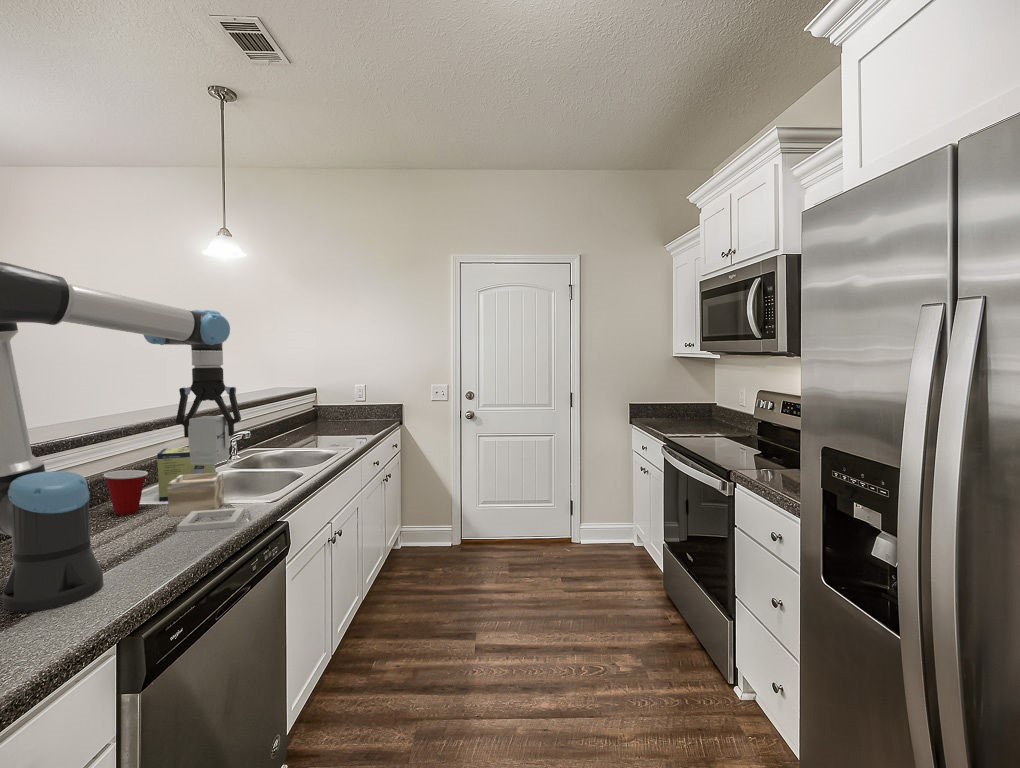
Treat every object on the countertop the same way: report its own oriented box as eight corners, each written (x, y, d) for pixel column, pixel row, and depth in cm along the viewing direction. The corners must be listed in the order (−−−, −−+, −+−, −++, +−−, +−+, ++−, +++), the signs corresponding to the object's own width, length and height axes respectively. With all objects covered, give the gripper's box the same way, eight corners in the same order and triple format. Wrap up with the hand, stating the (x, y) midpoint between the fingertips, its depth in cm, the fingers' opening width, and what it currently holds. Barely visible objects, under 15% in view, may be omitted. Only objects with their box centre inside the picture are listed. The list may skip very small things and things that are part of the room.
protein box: (164, 494, 181) (162, 448, 180) (217, 489, 187) (215, 445, 186) (158, 502, 172) (156, 453, 171) (213, 497, 178) (212, 450, 177)
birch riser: (214, 512, 160) (213, 481, 159) (168, 516, 157) (167, 483, 156) (224, 502, 172) (223, 472, 171) (181, 505, 168) (180, 474, 168)
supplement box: (216, 464, 147) (215, 418, 146) (189, 464, 147) (187, 418, 146) (230, 459, 154) (229, 415, 154) (204, 459, 154) (203, 415, 154)
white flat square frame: (235, 527, 147) (235, 521, 147) (176, 531, 143) (176, 526, 143) (244, 512, 160) (244, 507, 160) (191, 516, 157) (191, 511, 156)
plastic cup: (145, 515, 158) (143, 474, 157) (100, 519, 154) (98, 477, 153) (153, 505, 168) (151, 467, 167) (111, 509, 164) (109, 470, 163)
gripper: (252, 366, 156) (253, 444, 157) (168, 366, 150) (171, 447, 151) (247, 367, 149) (249, 448, 150) (159, 367, 143) (162, 452, 144)
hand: (210, 448), depth 150 cm, fingers closed on supplement box, 8 cm apart
